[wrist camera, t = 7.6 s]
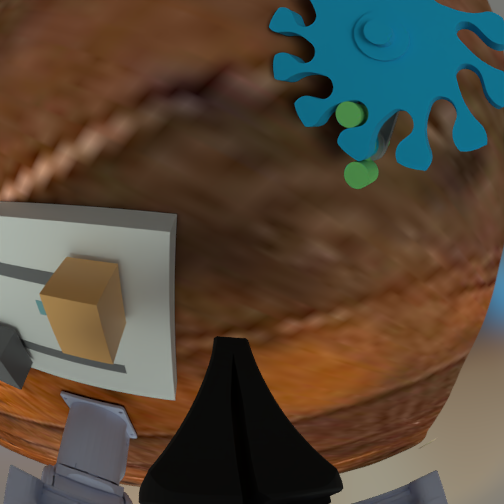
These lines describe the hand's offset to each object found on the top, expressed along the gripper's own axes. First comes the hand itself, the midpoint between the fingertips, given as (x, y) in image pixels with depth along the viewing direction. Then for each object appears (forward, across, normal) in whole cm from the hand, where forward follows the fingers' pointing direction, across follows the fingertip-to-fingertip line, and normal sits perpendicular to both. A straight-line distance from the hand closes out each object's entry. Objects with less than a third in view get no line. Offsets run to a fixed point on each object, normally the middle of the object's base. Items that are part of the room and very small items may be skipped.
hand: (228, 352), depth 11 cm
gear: (+6, -4, -13) cm, 15 cm away
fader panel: (+5, +14, +4) cm, 15 cm away
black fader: (+3, +17, +8) cm, 19 cm away
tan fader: (+3, +7, 0) cm, 8 cm away
